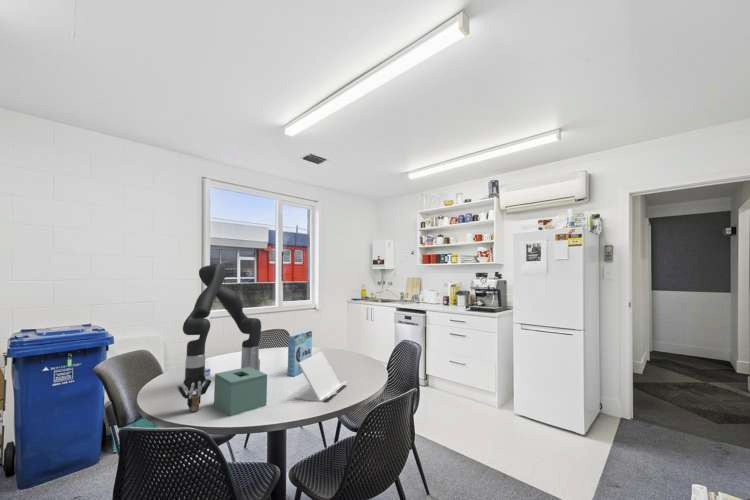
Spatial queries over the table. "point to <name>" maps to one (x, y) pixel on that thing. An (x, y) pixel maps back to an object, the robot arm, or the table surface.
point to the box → (240, 390)
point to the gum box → (298, 351)
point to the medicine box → (206, 376)
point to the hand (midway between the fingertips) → (193, 405)
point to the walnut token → (195, 403)
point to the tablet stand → (318, 379)
